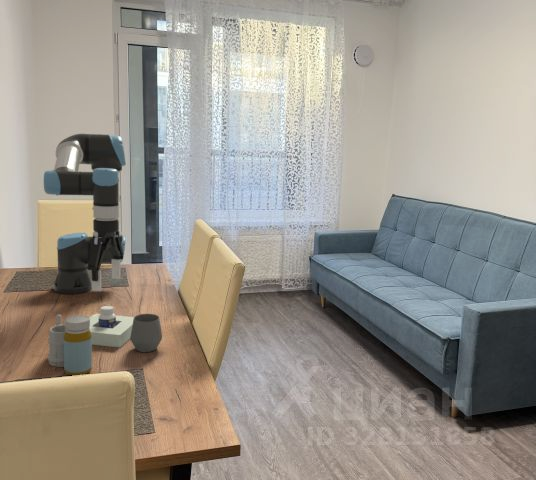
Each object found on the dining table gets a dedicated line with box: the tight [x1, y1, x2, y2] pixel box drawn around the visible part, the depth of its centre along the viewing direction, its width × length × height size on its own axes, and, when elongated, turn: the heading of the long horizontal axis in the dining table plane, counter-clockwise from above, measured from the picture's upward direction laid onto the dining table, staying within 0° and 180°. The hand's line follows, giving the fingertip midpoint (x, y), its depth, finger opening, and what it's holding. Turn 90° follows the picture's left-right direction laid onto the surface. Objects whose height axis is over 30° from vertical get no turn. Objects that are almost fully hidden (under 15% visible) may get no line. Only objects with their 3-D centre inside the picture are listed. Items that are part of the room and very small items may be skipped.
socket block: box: [89, 313, 135, 348], centre depth 162 cm, size 16×16×4 cm
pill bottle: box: [99, 305, 117, 328], centre depth 161 cm, size 5×5×9 cm
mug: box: [47, 313, 65, 368], centre depth 142 cm, size 8×12×12 cm, turn 29°
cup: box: [129, 313, 163, 353], centre depth 152 cm, size 10×9×10 cm
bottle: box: [63, 314, 93, 376], centre depth 135 cm, size 7×7×15 cm
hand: (106, 284), depth 159 cm, fingers open, 13 cm apart
